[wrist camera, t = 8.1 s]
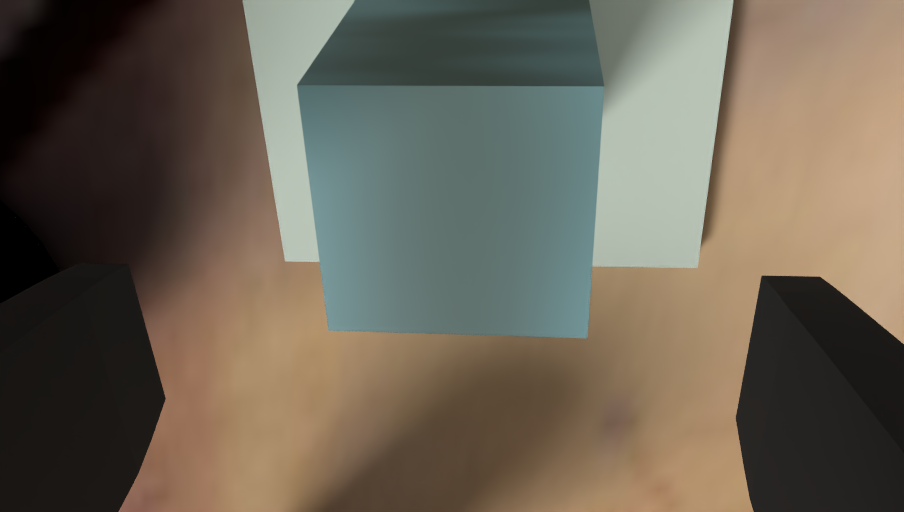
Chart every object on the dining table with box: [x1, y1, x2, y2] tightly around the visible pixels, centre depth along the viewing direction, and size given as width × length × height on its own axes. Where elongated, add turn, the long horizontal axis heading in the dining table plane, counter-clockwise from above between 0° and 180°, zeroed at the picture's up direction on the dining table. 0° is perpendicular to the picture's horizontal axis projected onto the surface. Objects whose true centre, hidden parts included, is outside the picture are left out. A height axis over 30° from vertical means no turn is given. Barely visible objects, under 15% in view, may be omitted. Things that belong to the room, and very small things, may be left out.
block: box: [297, 0, 604, 338], centre depth 15 cm, size 4×4×7 cm
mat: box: [243, 0, 733, 268], centre depth 18 cm, size 10×10×1 cm
